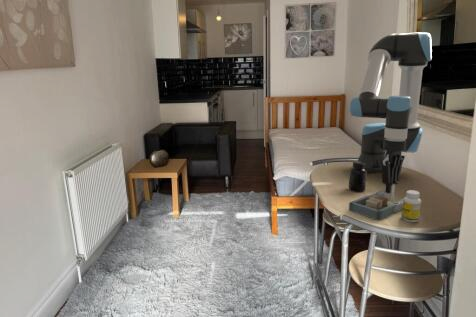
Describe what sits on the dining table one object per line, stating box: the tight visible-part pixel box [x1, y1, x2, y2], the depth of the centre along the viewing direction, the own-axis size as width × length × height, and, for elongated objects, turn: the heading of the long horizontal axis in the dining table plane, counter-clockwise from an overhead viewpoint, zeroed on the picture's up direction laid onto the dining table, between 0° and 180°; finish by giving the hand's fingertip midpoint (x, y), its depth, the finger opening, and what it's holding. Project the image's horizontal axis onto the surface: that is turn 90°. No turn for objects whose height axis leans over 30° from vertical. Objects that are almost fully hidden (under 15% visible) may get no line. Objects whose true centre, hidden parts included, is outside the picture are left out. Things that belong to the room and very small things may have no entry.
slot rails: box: [366, 189, 404, 215], centre depth 135 cm, size 14×12×2 cm
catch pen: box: [348, 195, 397, 221], centre depth 129 cm, size 11×12×3 cm
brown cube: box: [373, 195, 389, 209], centre depth 132 cm, size 4×4×4 cm
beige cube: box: [365, 198, 382, 210], centre depth 129 cm, size 4×4×4 cm
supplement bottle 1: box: [348, 160, 368, 193], centre depth 150 cm, size 7×7×12 cm
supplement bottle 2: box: [401, 189, 422, 223], centre depth 121 cm, size 5×5×10 cm
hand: (388, 200), depth 136 cm, fingers closed
